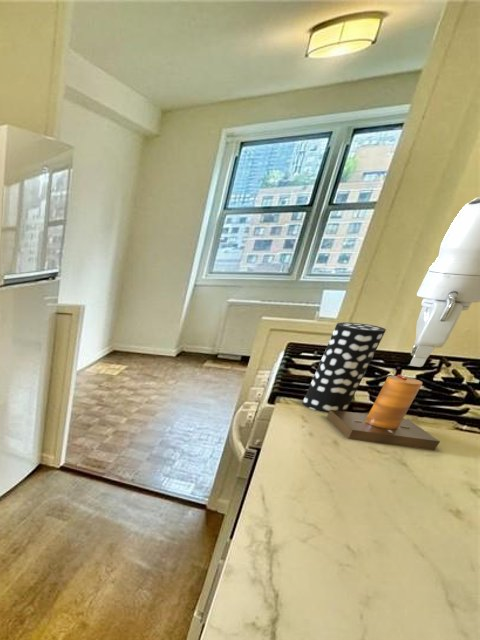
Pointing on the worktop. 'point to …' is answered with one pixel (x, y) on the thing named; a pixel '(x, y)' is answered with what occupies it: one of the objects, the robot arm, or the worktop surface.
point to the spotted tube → (343, 366)
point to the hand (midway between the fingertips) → (415, 360)
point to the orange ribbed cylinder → (393, 402)
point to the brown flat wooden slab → (381, 431)
